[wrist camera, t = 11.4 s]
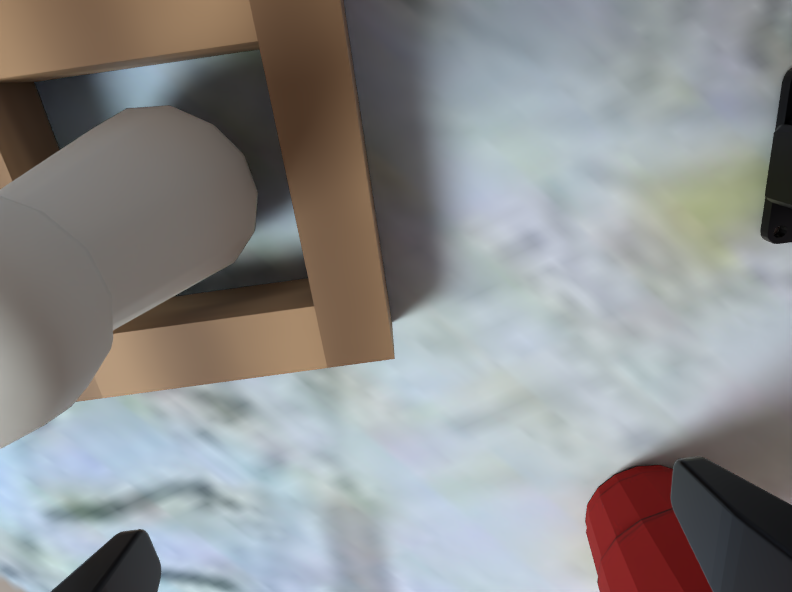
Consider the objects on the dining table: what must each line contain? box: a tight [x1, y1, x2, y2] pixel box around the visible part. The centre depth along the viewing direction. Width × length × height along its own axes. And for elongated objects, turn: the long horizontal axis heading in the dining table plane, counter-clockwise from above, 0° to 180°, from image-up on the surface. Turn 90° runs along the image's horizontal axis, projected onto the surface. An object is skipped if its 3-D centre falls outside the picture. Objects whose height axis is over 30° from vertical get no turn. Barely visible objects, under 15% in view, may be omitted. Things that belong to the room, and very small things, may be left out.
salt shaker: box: [0, 105, 258, 448], centre depth 13 cm, size 6×6×13 cm
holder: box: [0, 0, 395, 402], centre depth 18 cm, size 13×13×3 cm
